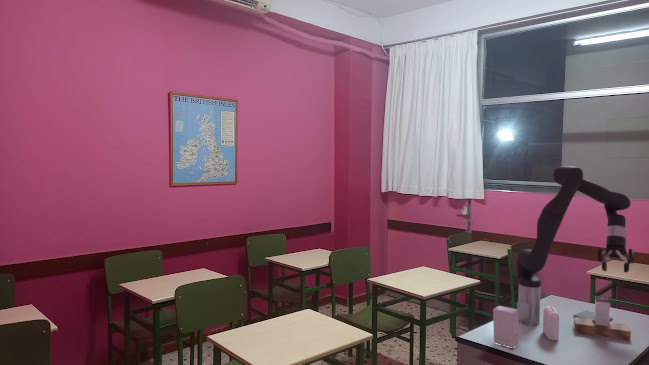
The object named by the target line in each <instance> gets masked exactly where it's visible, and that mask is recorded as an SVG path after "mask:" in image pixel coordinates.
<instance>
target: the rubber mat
mask: <svg viewBox="0 0 649 365" xmlns="http://www.w3.org/2000/svg"><path fill="white" fill-rule="evenodd" d="M594 314H595V311H594V312H593V311H592V310H591V311H590V310H583V311H580V312H578V313H575V314H573V316H572V317H573V318H574V317H578V318H585V319H592V320H594ZM613 318H614V317H612V316H609V322H612V321H613V320H614V319H613Z"/></svg>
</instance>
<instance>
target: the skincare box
mask: <svg viewBox="0 0 649 365" xmlns="http://www.w3.org/2000/svg"><path fill="white" fill-rule="evenodd" d="M492 312H493V316H492V317H493V319H492V321H493V325H492V326H493V343H494V342H495V343H498V344H501V345H505V346H509V347H512V348H513V347H515V346H517V345H518V344H519V345H520V332H519V330H520V329H519V328H520V327H519V322H518V309H517V308H512V307H509V306H502V305H498V306H496V307H494V308H493V309H492ZM519 345H518V346H519ZM518 346H517V347H518Z"/></svg>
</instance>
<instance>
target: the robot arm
mask: <svg viewBox="0 0 649 365" xmlns="http://www.w3.org/2000/svg"><path fill="white" fill-rule="evenodd" d="M552 178H553V180H554V182H555V183H556V184H558V185H560V186H561V187H560V189H559V191H558V193H557V194H556V195H555V196H554V197H553V198H552V199H551V200H550V201H548V202H547V204H545V206H544V207H543V208H542V210H541V213H540V215H539V217H538V219H537V224H536V240H535V242H534V244H533V247H532V249H529V248H524V249H522V250H521V251H520V252H519V253H518V255H517V258H516V275H517V279H518V294H517V295H518V297H517V298H518V299H517V302H516V304H517V305H516V309H518V323H521V324H525V325H527V326H535V325H536V326H537V325H539V324H540V322H541V320H540V319H541V292H542V290H541V289H542V288H541V286H542V281H541V278H540V277H539V276H538V273H539V272H540V271H542V270H543V269H544V267H545V264H546V263H547V259H548V256H549V254H550V249H551V247H552V245H553V242H554V240H555V237H556V235H557V233H558V231H559V228H560V226H561V225H562V222H563V220H564V217H565V215H566V213H567V210H568V209H569V206H570V205H571V202H572V200H573V198H574V196H575V195H576V193H577V192H579V193H581V194H583V195H586V196H587V197H589V198H591V199H592V200H594V201H597V202H598V203H601V204H603V207H604V210H605V213H606V217H607V229H606V240H605V241H606V242H605V243H606V244H605V245H606V246H605V247H606V248H598V250H597V251H598V253H597V261H598V262H600V263H601V270H602V271H603V272H607V271H608V268H607V267H608V262H609V261H611V260H612V259H613V260H620V259H621V260H622V261H623V262H624V263H623V273H628V272H629V271H630V264H634V263H635V250H633V249H631V248H629V249H626V247H627V246H626V245H627V244H626V243H627V241H626V240H627V239H626V238H627V232H626V231H627V230H626V221H627V220H626V217H625V216H624V215H623V214H618V211H625V210H627V209H629V208H630V207H631V199H630V198H629V197H628V196H627V195H626V194H623V193H621V192H617V191H613V190H610V189H608V188H607V187H604V186H602V185H600V184H598V183H596V182H593V181H590V180H588V179H585V178H584V171H583V169H582V168H580V167H577V166H572V165H571V166H570V165H560V166H558V167H556V168H555V169H554V171H553V175H552ZM605 253H606V254H605ZM604 254H605V255H604ZM626 254H627V255H628V259H627V257H626V256H625V255H626Z"/></svg>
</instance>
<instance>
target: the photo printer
mask: <svg viewBox="0 0 649 365" xmlns="http://www.w3.org/2000/svg"><path fill="white" fill-rule="evenodd" d="M542 311H543V312H542V313H543V314H542V315H543V316H542V318H543V319H542V333H543V334H544V335H545V337H547V339H548V340H550V341H553V340H555V341H558V340H559V335H560V333H559V331H560V315H559V313H558V311H557V310H556V309H555V307H553V306H552V305H551V306H550V305H549V306H548V305H546V306H544V308H543V310H542Z"/></svg>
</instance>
